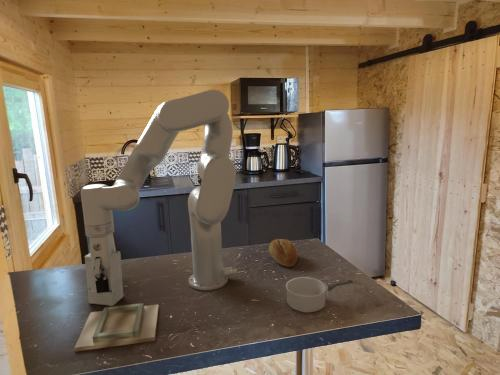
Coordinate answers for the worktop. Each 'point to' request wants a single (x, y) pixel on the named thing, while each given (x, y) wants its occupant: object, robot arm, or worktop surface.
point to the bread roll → (283, 252)
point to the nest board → (119, 326)
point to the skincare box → (113, 281)
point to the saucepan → (309, 293)
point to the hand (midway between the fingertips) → (106, 284)
